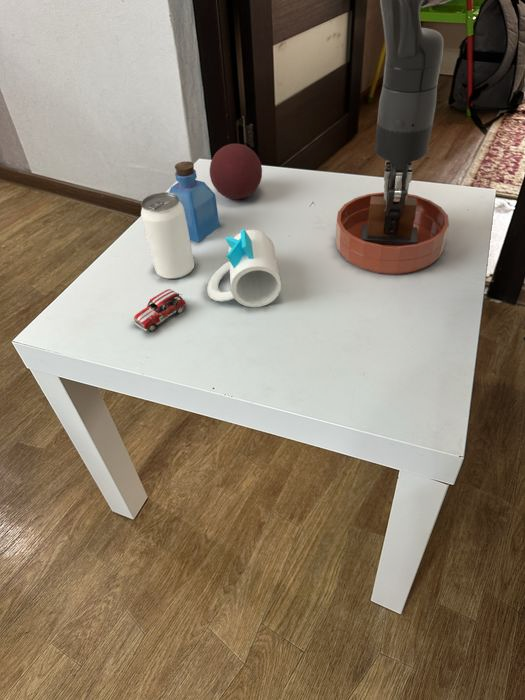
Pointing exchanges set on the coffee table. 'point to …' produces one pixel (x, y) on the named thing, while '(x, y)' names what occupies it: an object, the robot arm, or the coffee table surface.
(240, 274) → the mug
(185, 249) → the can
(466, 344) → the coffee table surface
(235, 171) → the decorative ball
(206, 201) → the perfume bottle
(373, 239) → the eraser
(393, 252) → the bowl
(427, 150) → the robot arm
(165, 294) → the toy car
